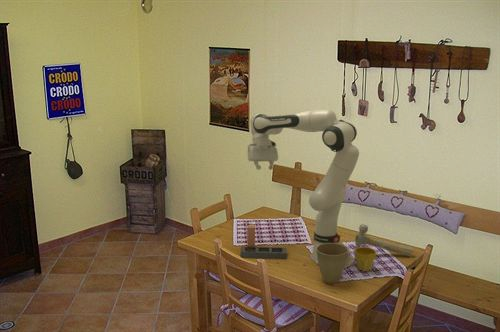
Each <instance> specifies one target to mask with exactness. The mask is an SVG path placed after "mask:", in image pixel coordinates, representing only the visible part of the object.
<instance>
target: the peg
mask: <svg viewBox="0 0 500 332" xmlns="http://www.w3.org/2000/svg"><path fill="white" fill-rule="evenodd" d="M246 238H247V240H246V241H247V246H255V247H256V225H254V224H248V225H247V237H246Z"/></svg>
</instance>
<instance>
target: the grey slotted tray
mask: <svg viewBox="0 0 500 332" xmlns="http://www.w3.org/2000/svg"><path fill="white" fill-rule="evenodd" d="M287 255H288V250H287V247H286V246H285V247H283V246H256V245H255V246H245V245H241V246H240V256H241V257H242V258H243V259H248V258H249V259H275V260H276V259H277V260H279V259H280V260H287V258H288V257H287Z"/></svg>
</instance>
